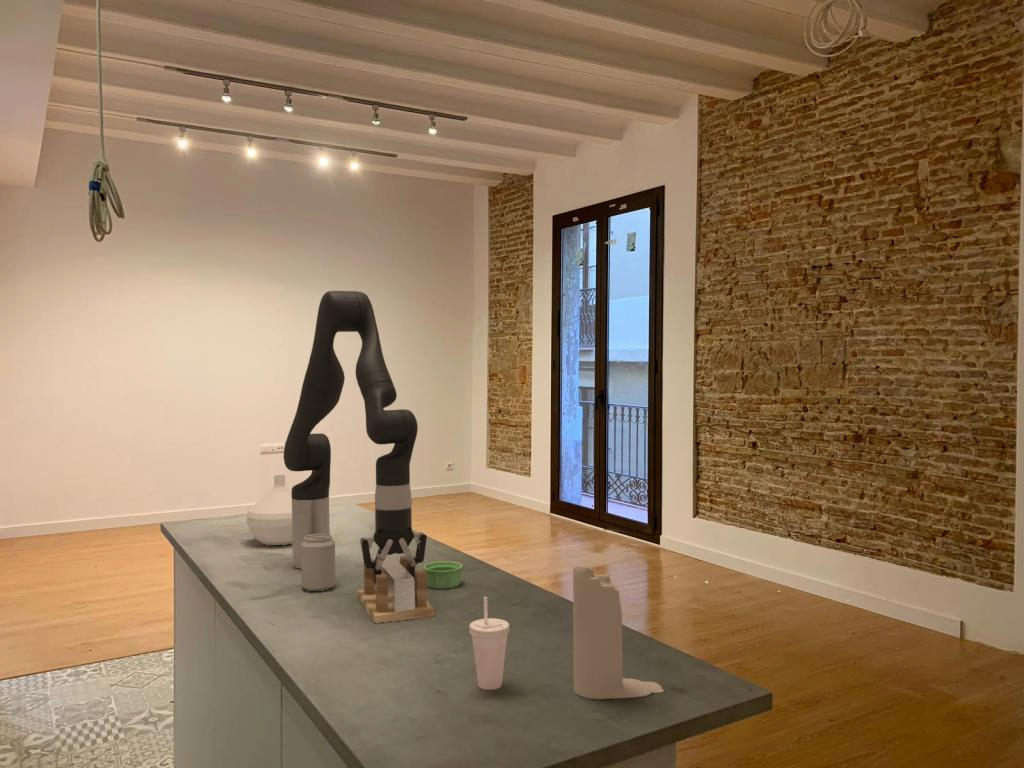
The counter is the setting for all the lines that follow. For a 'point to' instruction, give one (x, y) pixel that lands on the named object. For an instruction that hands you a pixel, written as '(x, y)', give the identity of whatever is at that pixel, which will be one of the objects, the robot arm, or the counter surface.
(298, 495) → the robot arm
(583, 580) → the candle
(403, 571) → the pale beige plank
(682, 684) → the counter surface
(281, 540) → the vase
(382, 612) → the rack
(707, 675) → the counter surface
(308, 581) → the can
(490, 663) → the smoothie
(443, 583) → the ramekin
